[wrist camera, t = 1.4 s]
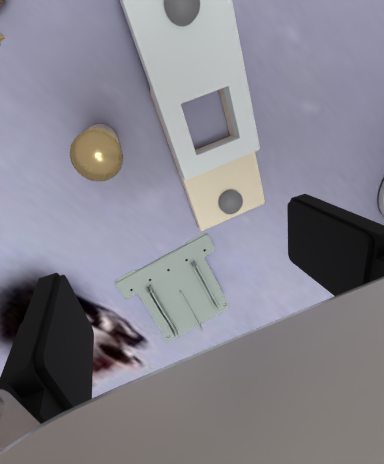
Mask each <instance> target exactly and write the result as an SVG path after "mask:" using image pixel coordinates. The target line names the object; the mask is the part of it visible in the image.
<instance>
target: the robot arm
mask: <svg viewBox="0 0 384 464" xmlns="http://www.w3.org/2000/svg"><path fill="white" fill-rule="evenodd" d="M378 202H379V209H380V211H381V213H382V215H383V216H384V181H383V183H382V186H381V189H380V193H379V201H378ZM288 255H289V258H290V260H291V261H292V262H293V263H294V264H295V265H296V266H298V267H299V268H300V269H301V270H303V271H304V272H305V273H306V274H308V275H309V276H310V277H312V278H313V279H314V280H315V281H317V282H318V283H319V284H320V285H322V286H323V287H324V288H325V289H327V290H328V291H329V292H330V293H332V294H333V295H334V296H335V297H332V298H330V299H327V300H325V301H322V302H320V303H318V304H315V305H313V306H310V307H308V308H305V309H303V310H300V311H298V312H296V313H293V314H291V315H288V316H286V317H284V318H281V319H279V320H276V321H274V322H271V323H269V324H267V325H264V326H262V327H259V328H257V329H255V330H252V331H250V332H247V333H245V334H242V335H240V336H238V337H235V338H233V339H230V340H228V341H226V342H223V343H221V344H218V345H216V346H214V347H211V348H209V349H207V350H204V351H202V352H199V353H197V354H195V355H192V356H190V357H188V358H185V359H183V360H180V361H178V362H176V363H173V364H171V365H169V366H166V367H164V368H161V369H159V370H157V371H154V372H152V373H149V374H147V375H145V376H142V377H140V378H138V379H135V380H133V381H131V382H128V383H126V384H124V385H121V386H119V387H117V388H114V389H112V390H110V391H108V392H105V393H103V394H101V395H99V396H97V397H95V398H92V373H93V344H94V333H93V329H92V326H91V324H90V322H89V320H88V318H87V316H86V314H85V312H84V311H83V309H82V307H81V305H80V303H79V301H78V299H77V297H76V295H75V293H74V291H73V289H72V288H71V286H70V284H69V282H68V280H67V278H66V276H65V275H61V276H60V275H59V274H58V273H54V274H51V275H48V276H45V277H42V278H39V280H38V283H37V285H36V288H35V291H34V293H33V296H32V299H31V301H30V304H29V307H28V309H27V312H26V315H25V318H24V320H23V322H22V323H21V325H20V327H19V330H18V332H17V335H16V337H15V340H14V343H13V345H12V348H11V351H10V353H9V356H8V359H7V361H6V364H5V366H4V369H3V372H2V374H1V377H0V464H384V225H381V224H379V223H376V222H374V221H371V220H369V219H366V218H364V217H362V216H359V215H357V214H354V213H352V212H349V211H347V210H344V209H342V208H339V207H337V206H334V205H332V204H329V203H327V202H325V201H322V200H320V199H317V198H315V197H312V196H310V195H307V194H303V195H300V196H297V197H293V198H292V199H291V200H290V202H289V203H288Z"/></svg>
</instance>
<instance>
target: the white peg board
mask: <svg viewBox="0 0 384 464" xmlns="http://www.w3.org/2000/svg"><path fill="white" fill-rule="evenodd" d="M120 3H121V6H122V8H123V11H124V14H125V17H126V20H127V23H128V25H129V28H130V31H131V34H132V37H133V40H134V42H135V45H136V48H137V51H138V54H139V57H140V59H141V62H142V65H143V68H144V71H145V74H146V76H147V79H148V82H149V85H150V88H151V90H150V94H151V97H152V100H153V102H154V105H155V108H156V111H157V114H158V116H159V119H160V122H161V125H162V128H163V130H164V133H165V136H166V139H167V142H168V144H169V147H170V150H171V153H172V156H173V158H174V161H175V164H176V167H177V170H178V172H179V175H180V178H181V181H182V184H183V186H184V189H185V192H186V195H187V198H188V200H189V203H190V206H191V209H192V212H193V214H194V217H195V220H196V223H197V226H198V228H199V229H200V230H201V231H203V230H205V229H208V228H210V227H212V226H214V225H217V224H219V223H221V222H223V221H226V220H228V219H230V218H233V217H235V216H237V215H239V214H242V213H244V212H246V211H249V210H251V209H253V208H255V207H258V206H260V205H262V204H265V199H264V194H263V189H262V184H261V179H260V174H259V169H258V164H257V159H256V154H255V151H258V150H260V146H259V140H258V135H257V130H256V124H255V119H254V114H253V109H252V103H251V98H250V93H249V87H248V82H247V77H246V72H245V66H244V61H243V56H242V50H241V45H240V40H239V35H238V29H237V24H236V19H235V13H234V8H233V3H232V0H120ZM216 90H219V92H220V97H221V101H222V105H223V109H224V113H225V118H226V122H227V126H228V130H229V134H230V136H229V137H226V138H224V139H221V140H219V141H216V142H214V143H211V144H209V145H206V146H204V147H201V148H199V149H196V150H195V149H194V146H193V142H192V139H191V136H190V133H189V129H188V126H187V123H186V120H185V117H184V113H183V110H182V107H181V104H182V103H185V102H188V101H190V100H193V99H195V98H198V97H201V96H203V95H206V94H209V93H211V92H214V91H216Z"/></svg>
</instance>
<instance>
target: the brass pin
mask: <svg viewBox="0 0 384 464" xmlns="http://www.w3.org/2000/svg"><path fill="white" fill-rule="evenodd" d="M70 158H71V162H72V164H73V166H74V168H75V169H76V170H77V172H78V173H79V174H81V175H82V176H83V177H85V178H87V179H89V180H92V181H106V180H109V179H111V178H112V177H114V176H115V175H116V174H117V173H118V172H119V170H120V168H121V166H122V162H123V155H122V150H121V147H120V143H119V140H118V136H117V134H116V132H115V131H114V130H113V129H112V128H111V127H110V126H108V125H105V124H95V125H92V126H91V127H89V128H88V129H87V130H85V131H84V132H82V133H81V134H80V135H78V136H77V137H76V138H75V139H74V141H73V143H72V145H71V149H70Z"/></svg>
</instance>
